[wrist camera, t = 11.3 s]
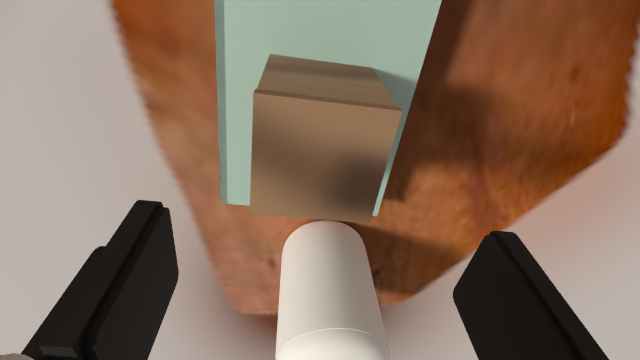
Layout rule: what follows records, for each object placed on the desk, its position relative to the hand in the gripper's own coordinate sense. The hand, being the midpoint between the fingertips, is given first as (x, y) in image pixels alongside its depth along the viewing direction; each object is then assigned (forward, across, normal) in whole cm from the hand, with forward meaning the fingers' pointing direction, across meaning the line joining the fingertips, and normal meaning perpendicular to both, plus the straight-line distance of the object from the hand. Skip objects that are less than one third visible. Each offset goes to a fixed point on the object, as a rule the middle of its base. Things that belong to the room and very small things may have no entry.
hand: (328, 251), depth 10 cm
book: (+16, 0, +1) cm, 16 cm away
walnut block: (+13, 0, +1) cm, 13 cm away
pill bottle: (+16, -3, +16) cm, 23 cm away
